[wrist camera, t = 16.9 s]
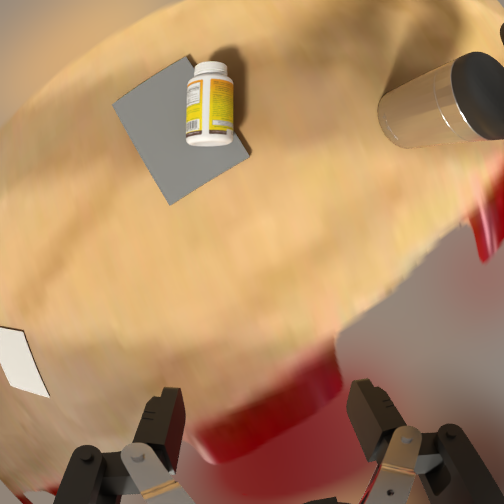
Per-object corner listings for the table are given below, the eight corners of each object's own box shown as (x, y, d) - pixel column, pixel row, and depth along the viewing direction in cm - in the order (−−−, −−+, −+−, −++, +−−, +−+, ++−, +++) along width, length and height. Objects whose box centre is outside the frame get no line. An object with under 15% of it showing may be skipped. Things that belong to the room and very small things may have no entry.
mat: (187, 59, 33) (185, 56, 32) (249, 157, 36) (249, 156, 35) (114, 106, 34) (111, 104, 33) (171, 204, 37) (169, 205, 36)
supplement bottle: (236, 146, 35) (237, 72, 32) (227, 140, 29) (229, 56, 27) (193, 148, 35) (195, 76, 33) (178, 143, 30) (182, 61, 27)
